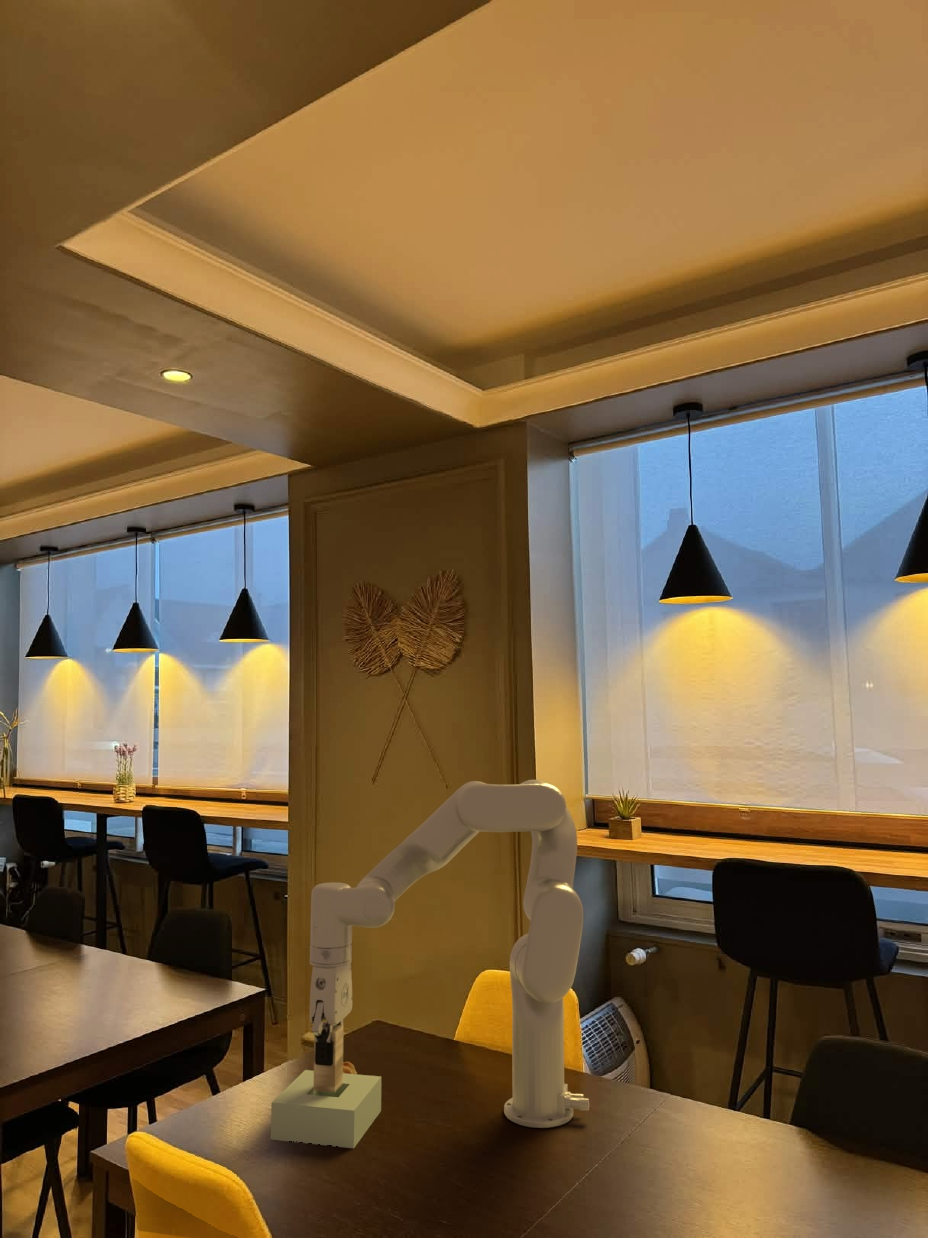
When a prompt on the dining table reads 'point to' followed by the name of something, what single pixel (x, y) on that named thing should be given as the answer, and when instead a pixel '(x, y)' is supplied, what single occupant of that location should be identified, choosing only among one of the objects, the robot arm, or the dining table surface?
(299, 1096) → the well block
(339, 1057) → the birch block
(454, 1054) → the dining table surface
